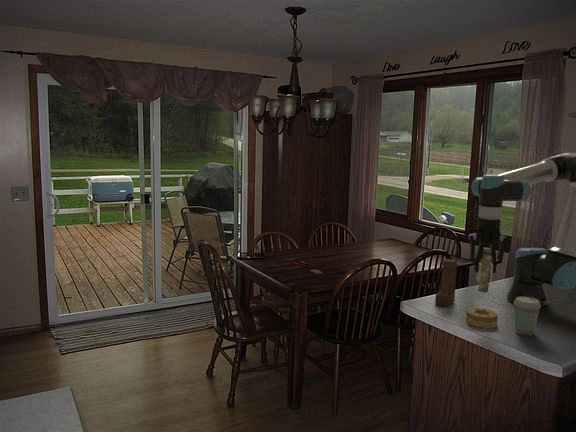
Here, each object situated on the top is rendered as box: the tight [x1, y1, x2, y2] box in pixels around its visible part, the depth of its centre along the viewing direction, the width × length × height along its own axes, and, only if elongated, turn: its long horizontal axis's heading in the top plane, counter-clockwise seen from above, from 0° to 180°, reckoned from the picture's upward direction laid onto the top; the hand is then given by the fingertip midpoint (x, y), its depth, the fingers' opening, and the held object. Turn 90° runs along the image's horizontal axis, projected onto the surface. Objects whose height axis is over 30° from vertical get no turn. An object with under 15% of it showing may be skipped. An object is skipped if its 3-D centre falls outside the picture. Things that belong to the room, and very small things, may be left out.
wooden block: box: [434, 258, 458, 308], centre depth 198 cm, size 9×4×18 cm, turn 137°
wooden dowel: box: [477, 247, 492, 294], centre depth 175 cm, size 4×4×16 cm
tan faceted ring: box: [465, 306, 499, 329], centre depth 178 cm, size 10×10×4 cm
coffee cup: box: [513, 297, 542, 337], centre depth 169 cm, size 8×9×12 cm
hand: (484, 281), depth 176 cm, fingers closed on wooden dowel, 3 cm apart
